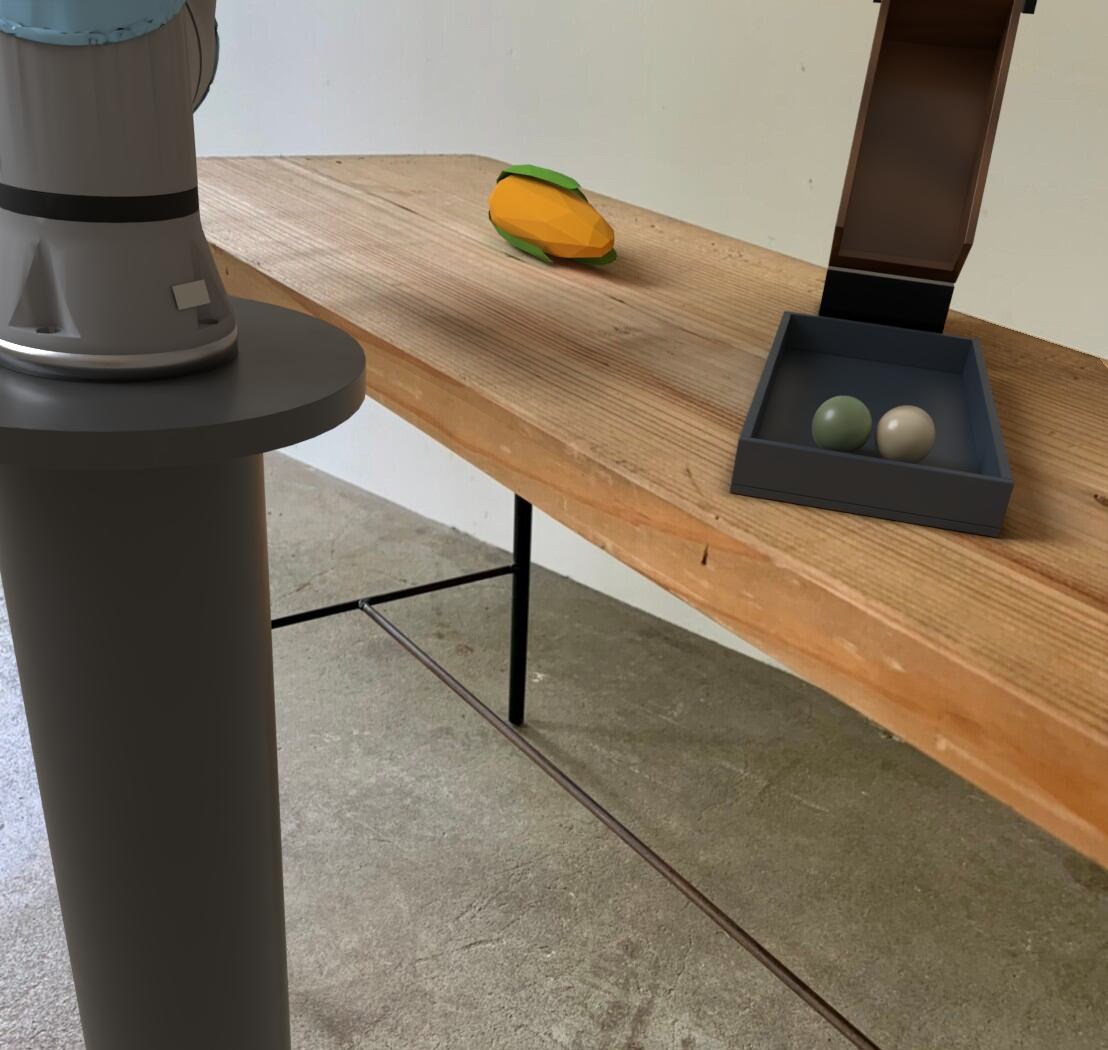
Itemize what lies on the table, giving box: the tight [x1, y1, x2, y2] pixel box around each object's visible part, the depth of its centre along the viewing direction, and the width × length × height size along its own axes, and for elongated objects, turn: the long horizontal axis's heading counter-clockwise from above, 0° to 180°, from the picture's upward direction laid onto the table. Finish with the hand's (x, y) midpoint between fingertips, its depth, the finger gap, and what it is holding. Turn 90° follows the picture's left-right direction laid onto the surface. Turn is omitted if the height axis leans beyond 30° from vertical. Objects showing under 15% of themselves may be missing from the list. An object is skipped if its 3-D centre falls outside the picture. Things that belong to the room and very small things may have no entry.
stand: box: [817, 265, 955, 334], centre depth 97 cm, size 17×9×6 cm, turn 166°
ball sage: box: [812, 396, 872, 454], centre depth 70 cm, size 3×3×3 cm
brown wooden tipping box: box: [827, 0, 1023, 284], centre depth 84 cm, size 21×9×8 cm
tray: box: [729, 310, 1015, 538], centre depth 76 cm, size 31×14×3 cm, turn 166°
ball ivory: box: [874, 405, 936, 464], centre depth 69 cm, size 3×3×3 cm
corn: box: [488, 163, 618, 266], centre depth 110 cm, size 7×8×20 cm
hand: (952, 7), depth 85 cm, fingers open, 9 cm apart
